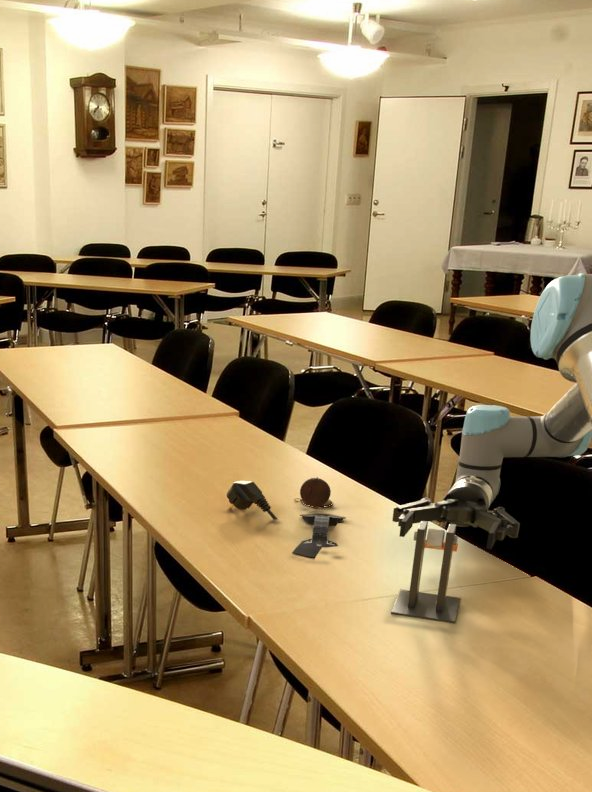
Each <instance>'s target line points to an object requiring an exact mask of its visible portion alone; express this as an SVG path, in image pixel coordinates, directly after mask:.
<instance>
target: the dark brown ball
mask: <svg viewBox="0 0 592 792" xmlns="http://www.w3.org/2000/svg"><path fill="white" fill-rule="evenodd" d="M331 493H332V492H331V487H330V485H329V484H328V483H327V481H326V480H324V479H322V478H319V476H317V477H311V478H308V479H307V480H305V481H304V482H303V483H302V484H301V487H300V489H299V495H300V498H299V497H298V498H294V499H293V500H294V502H297V500H299V501H300V502H302V501H303V502H302V504H303V503H304V504H306V505H310V506H313V507H312V508H314V509H318V508H317V507H321V508H320V509H325V508H326V507H324V506H329V505H331V504H332V503H333V502H334V501H333V500H331V499H330V497H331ZM304 504H303V505H304ZM333 504H334V503H333ZM333 504H332V505H331V506H329V507H332V506H333ZM306 505H305V506H306ZM310 506H307V507H308V508H311V507H310ZM329 507H328V508H329Z"/></svg>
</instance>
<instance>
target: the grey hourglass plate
mask: <svg viewBox="0 0 592 792" xmlns="http://www.w3.org/2000/svg"><path fill="white" fill-rule="evenodd" d="M299 516H300V517H301V518H302V519H303V521H305V523H306V524H307V525H313V529H312V535H311V538H310V539H305V540H301V542H300V543H299V544H298V545H297V546H296V547H295V548H294V550H292V552H291V553H292V554H294V555H298V556H302V557H306V558H308V559H316V558H317V556H318V555H319V553H320V551H321V550H322V548H327V549H328V548H334V547H335V548H337V547H339V545H338V544H337V542H334V541H332V540H329V539H328V537H329V526H331V527H332V526H333V527H334V526H335V527H336V526H337V525H338V524H340V523H342V522H344V520H345V519H347V517H346V516H340V515H335V514H332V513H317V512H315V513H304V514H303V513H302V514H299Z"/></svg>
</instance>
